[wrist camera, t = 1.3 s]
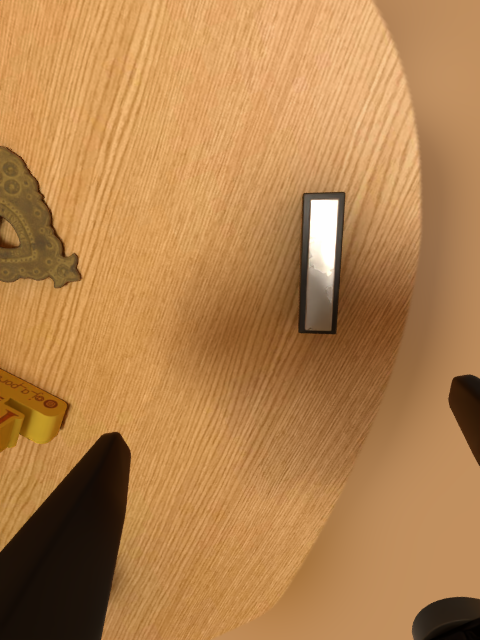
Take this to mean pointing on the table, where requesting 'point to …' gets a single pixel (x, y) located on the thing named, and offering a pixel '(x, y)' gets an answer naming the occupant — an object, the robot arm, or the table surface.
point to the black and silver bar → (320, 261)
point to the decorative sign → (27, 412)
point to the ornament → (30, 229)
